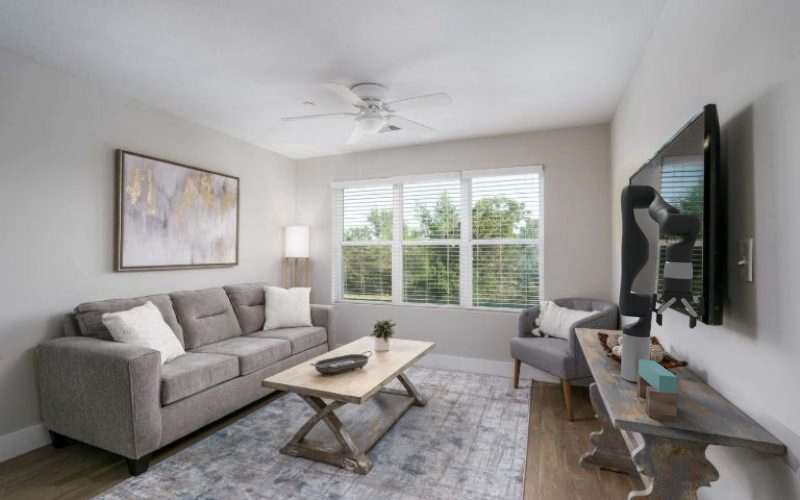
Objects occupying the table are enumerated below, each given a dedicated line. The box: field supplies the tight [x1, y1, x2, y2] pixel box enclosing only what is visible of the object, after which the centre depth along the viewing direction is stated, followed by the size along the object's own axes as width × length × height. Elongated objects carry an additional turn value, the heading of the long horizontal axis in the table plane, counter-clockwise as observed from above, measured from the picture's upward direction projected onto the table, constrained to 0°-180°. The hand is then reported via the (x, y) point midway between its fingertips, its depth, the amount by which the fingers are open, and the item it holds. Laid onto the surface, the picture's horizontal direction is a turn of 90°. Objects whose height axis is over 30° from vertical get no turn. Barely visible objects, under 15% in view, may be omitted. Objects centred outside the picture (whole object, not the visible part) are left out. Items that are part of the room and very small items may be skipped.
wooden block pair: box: [636, 374, 678, 422], centre depth 124 cm, size 17×7×8 cm, turn 159°
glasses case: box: [638, 359, 678, 395], centre depth 124 cm, size 17×5×5 cm, turn 166°
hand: (675, 326), depth 126 cm, fingers open, 8 cm apart
